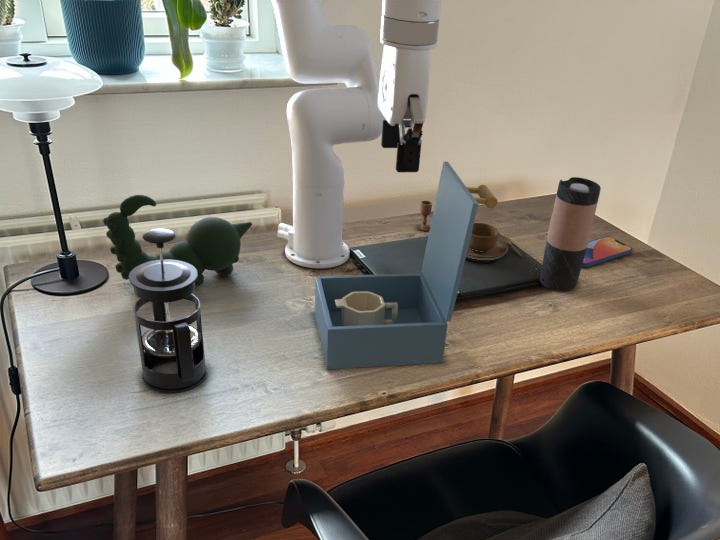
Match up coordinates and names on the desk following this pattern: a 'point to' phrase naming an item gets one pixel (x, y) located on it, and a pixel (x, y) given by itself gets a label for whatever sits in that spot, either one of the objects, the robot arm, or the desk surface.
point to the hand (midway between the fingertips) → (399, 159)
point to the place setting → (476, 238)
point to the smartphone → (604, 250)
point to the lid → (451, 236)
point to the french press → (168, 337)
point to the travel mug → (569, 233)
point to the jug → (365, 309)
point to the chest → (381, 342)
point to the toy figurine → (201, 249)
